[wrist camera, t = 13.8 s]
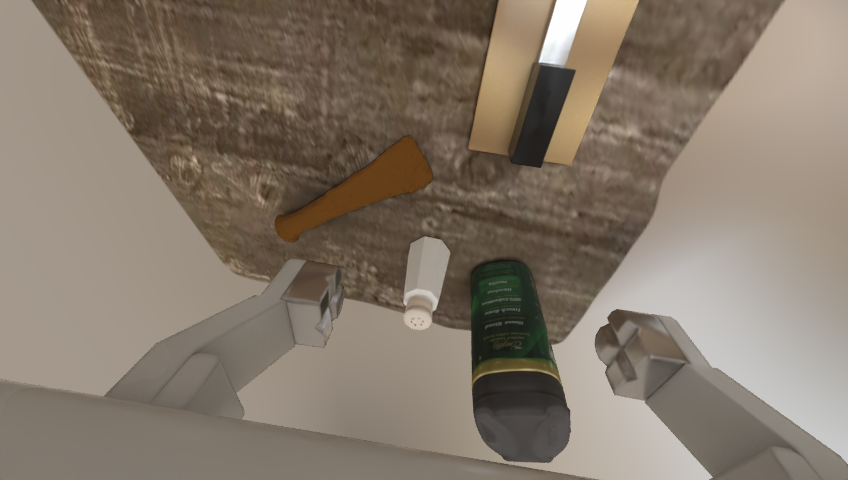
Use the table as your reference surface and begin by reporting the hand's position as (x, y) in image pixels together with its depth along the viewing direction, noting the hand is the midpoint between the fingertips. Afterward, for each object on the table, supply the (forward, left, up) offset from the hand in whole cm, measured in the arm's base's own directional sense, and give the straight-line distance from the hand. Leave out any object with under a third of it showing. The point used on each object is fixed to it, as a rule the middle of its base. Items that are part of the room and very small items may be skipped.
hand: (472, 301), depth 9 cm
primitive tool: (+2, -14, -24) cm, 28 cm away
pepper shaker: (+13, -9, -24) cm, 28 cm away
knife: (-4, +9, -23) cm, 25 cm away
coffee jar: (+21, -2, -24) cm, 31 cm away
